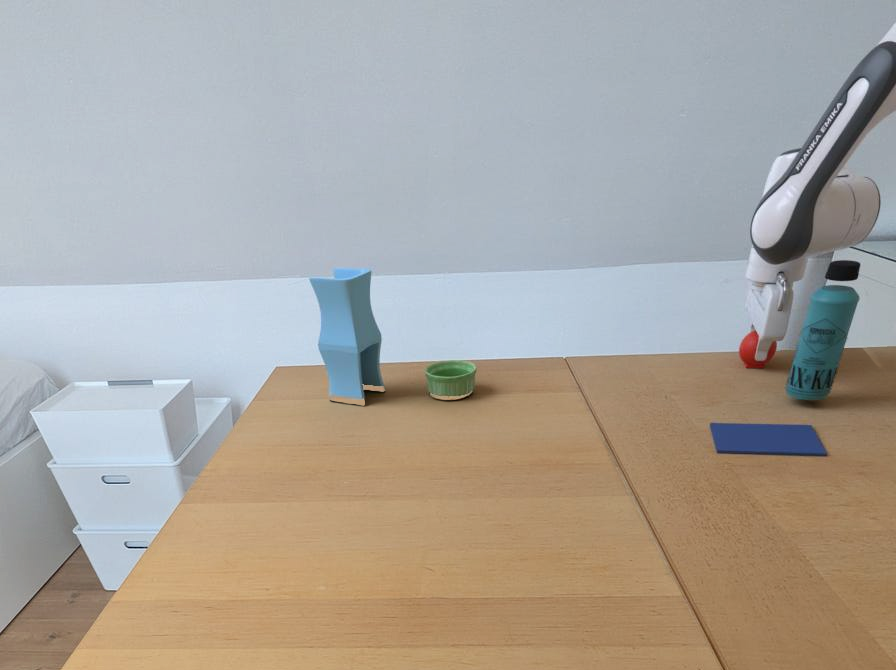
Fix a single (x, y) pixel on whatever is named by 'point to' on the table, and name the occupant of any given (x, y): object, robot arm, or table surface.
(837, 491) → the table surface
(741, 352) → the red ball with base
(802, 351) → the beverage bottle
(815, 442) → the cloth
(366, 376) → the vase
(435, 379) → the ramekin
